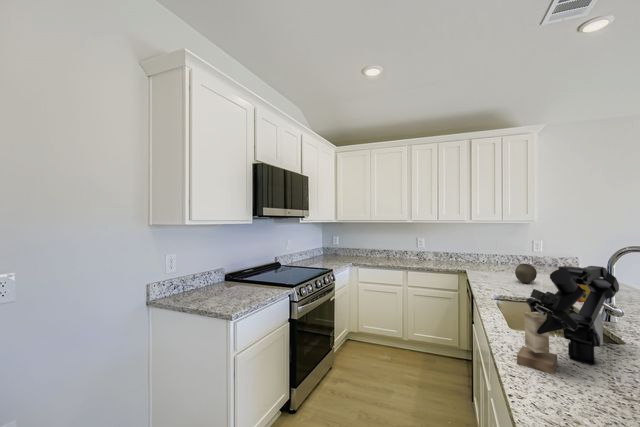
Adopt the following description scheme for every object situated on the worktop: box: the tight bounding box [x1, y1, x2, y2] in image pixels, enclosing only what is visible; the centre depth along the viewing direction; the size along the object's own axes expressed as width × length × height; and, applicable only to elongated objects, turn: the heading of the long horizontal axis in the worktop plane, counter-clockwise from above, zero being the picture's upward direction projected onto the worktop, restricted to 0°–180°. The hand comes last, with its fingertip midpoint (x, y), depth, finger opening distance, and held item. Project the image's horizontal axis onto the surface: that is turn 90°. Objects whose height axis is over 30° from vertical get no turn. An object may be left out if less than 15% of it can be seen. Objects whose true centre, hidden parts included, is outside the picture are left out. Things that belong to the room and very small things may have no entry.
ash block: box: [523, 311, 550, 353], centre depth 102 cm, size 4×6×12 cm
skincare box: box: [594, 312, 604, 346], centre depth 119 cm, size 6×4×12 cm
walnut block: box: [516, 345, 558, 375], centre depth 102 cm, size 10×10×4 cm
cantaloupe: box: [514, 263, 538, 284], centre depth 226 cm, size 14×14×15 cm
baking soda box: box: [577, 284, 590, 303], centre depth 177 cm, size 10×6×16 cm
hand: (532, 330), depth 102 cm, fingers closed on ash block, 5 cm apart
